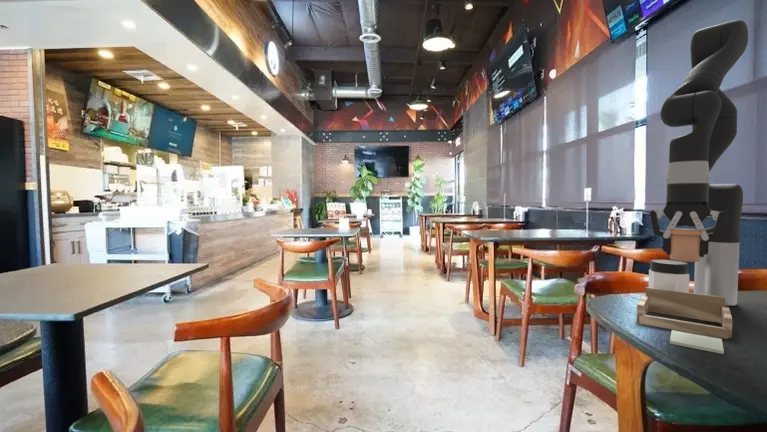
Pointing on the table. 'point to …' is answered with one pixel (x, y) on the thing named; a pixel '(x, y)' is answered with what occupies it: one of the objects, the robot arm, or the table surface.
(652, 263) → the jar
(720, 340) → the pad
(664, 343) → the table surface
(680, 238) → the pot
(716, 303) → the wooden tray
